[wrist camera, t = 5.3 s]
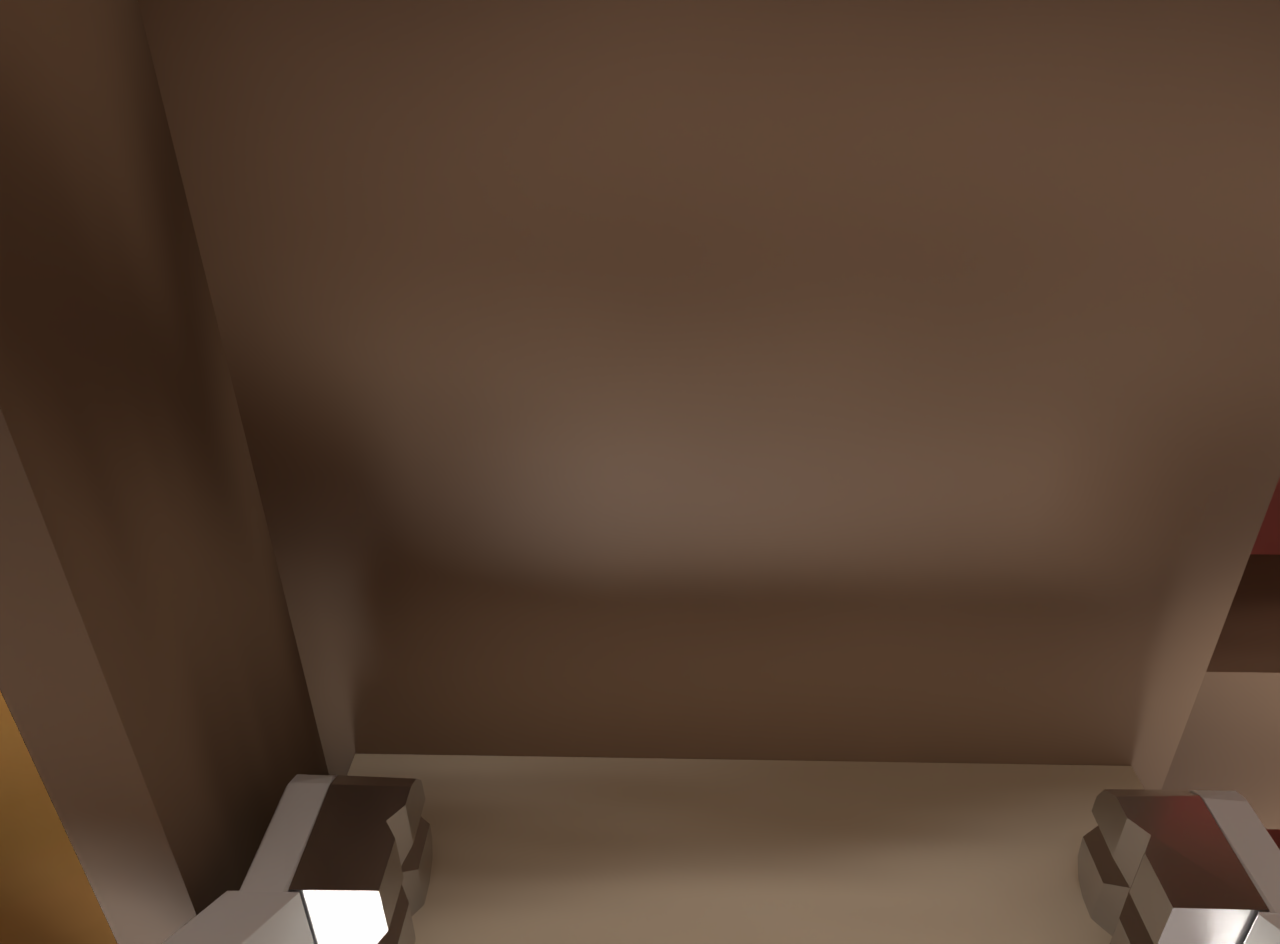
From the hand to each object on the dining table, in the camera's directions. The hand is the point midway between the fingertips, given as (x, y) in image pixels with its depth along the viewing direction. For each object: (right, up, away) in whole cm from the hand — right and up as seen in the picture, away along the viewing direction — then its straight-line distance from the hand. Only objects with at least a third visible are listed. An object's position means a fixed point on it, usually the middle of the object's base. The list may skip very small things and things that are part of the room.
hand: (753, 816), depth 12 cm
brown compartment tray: (+3, +2, +4) cm, 5 cm away
